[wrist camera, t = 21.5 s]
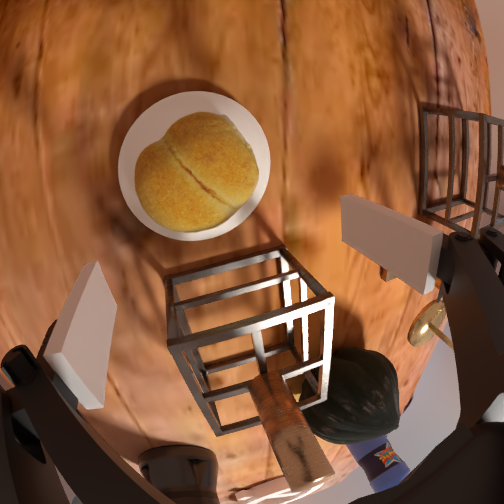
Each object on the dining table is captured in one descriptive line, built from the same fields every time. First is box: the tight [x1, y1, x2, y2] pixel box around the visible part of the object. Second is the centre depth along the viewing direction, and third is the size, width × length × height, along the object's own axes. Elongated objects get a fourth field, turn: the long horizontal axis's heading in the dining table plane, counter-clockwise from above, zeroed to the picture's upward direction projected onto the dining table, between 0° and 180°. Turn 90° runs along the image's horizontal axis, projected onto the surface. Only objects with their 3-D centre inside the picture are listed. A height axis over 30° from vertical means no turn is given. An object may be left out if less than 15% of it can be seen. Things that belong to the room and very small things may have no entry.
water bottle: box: [346, 435, 410, 493], centre depth 44 cm, size 9×9×25 cm
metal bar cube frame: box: [164, 245, 335, 492], centre depth 21 cm, size 12×14×19 cm
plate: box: [118, 91, 270, 241], centre depth 21 cm, size 12×12×2 cm
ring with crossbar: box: [235, 476, 324, 504], centre depth 63 cm, size 28×28×5 cm
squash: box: [299, 347, 400, 444], centre depth 34 cm, size 14×15×15 cm
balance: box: [381, 267, 454, 350], centre depth 26 cm, size 18×5×16 cm, turn 98°
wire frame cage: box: [418, 107, 504, 239], centre depth 21 cm, size 12×14×19 cm
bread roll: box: [134, 112, 259, 233], centre depth 19 cm, size 8×9×4 cm
